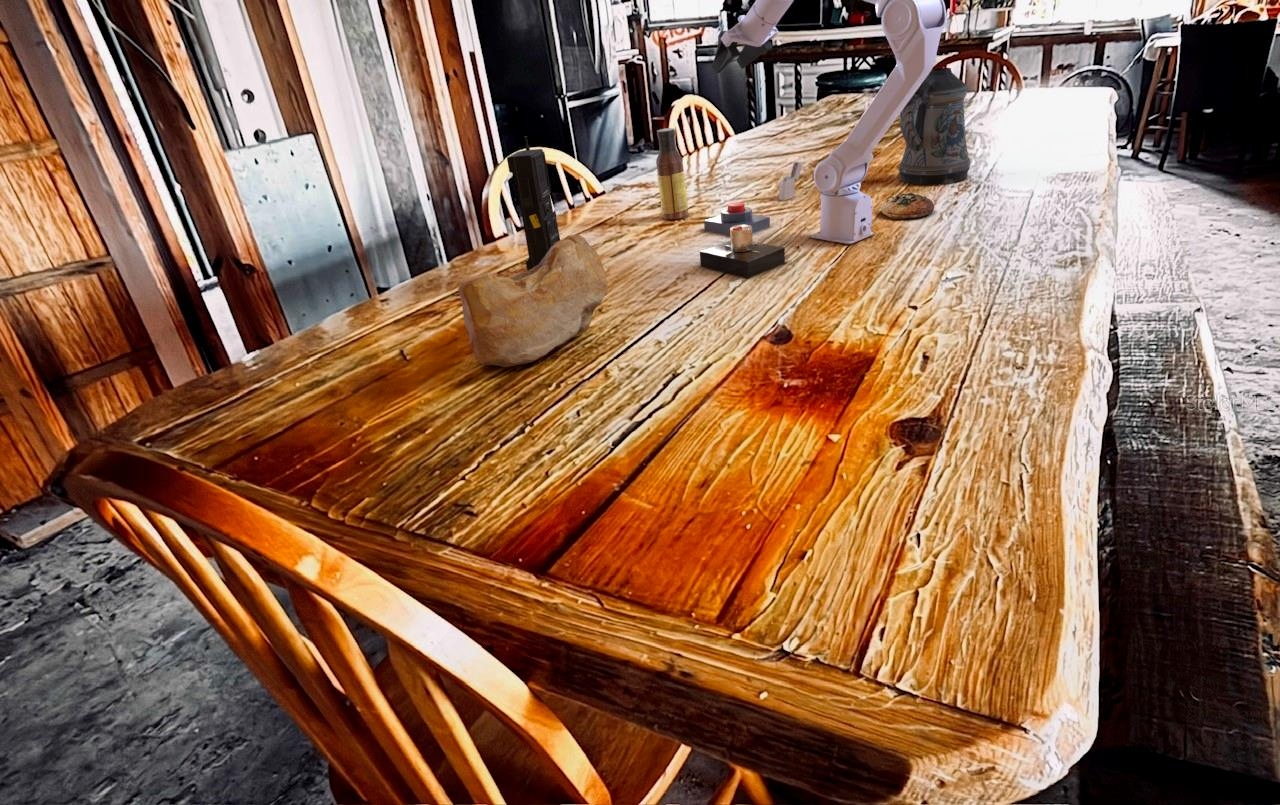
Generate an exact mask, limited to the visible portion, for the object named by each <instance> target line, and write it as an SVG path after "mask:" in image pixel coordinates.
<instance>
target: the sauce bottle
mask: <svg viewBox="0 0 1280 805" xmlns="http://www.w3.org/2000/svg"><path fill="white" fill-rule="evenodd" d="M656 135H657V139H658V146H659V147H658V148H659V152H658V154H657V158H656V161H655V163H656V171H657V183H658V191H659V192H658V193H659V199H660V209H661V213H662V217H663V219H664V220H666V221H671V220H673V221H675V220H677V221H678V220H682V219H685V218H687V217H688V215H689V205H688V196H687V188H686V177H685V170H684V164H683V157H682V156H681V154H680V153H679V151H678V149H677V144H676V131H675V128H674V127H667V128H660V129H658V130H656Z"/></svg>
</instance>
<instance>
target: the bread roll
mask: <svg viewBox="0 0 1280 805" xmlns="http://www.w3.org/2000/svg"><path fill="white" fill-rule="evenodd" d="M880 210H881V212H882V213H881V214H882V215H885V216H887V217H888V218H891V219H895V220H906V219H909V218H912V219H913V218H916V219H917V218H920V217H925V216H929V215H931V214H932V213H933V212H934V211H935V203H934V202H933V201H932V200H931V199H930V198H928V197H926V195H919V194H917V193H916V194H915V193H913V192H907V193H901V194H899V195H893V196H891V197H890V198H888V199H886V200H885V201H884V202H883V203H882V205H881V206H880Z"/></svg>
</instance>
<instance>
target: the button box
mask: <svg viewBox="0 0 1280 805" xmlns="http://www.w3.org/2000/svg"><path fill="white" fill-rule="evenodd" d="M736 225H750V226H752V234H755V233H758V232H760V231H764V230H766V229H769V228H770V227H771V217H770V216H765V215H758V214H753V209H752V208H751V207H748V206H745V211H744V212H740V213H728V207H726V208H723V209H721V211H720V214H719V215H717V216H713V217H710V218H708V219H704V220H703V227H704V228H703V229H704V231H705V232H712V233H717V234H722V235H727V236H730V228H731V227H733V226H736Z"/></svg>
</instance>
